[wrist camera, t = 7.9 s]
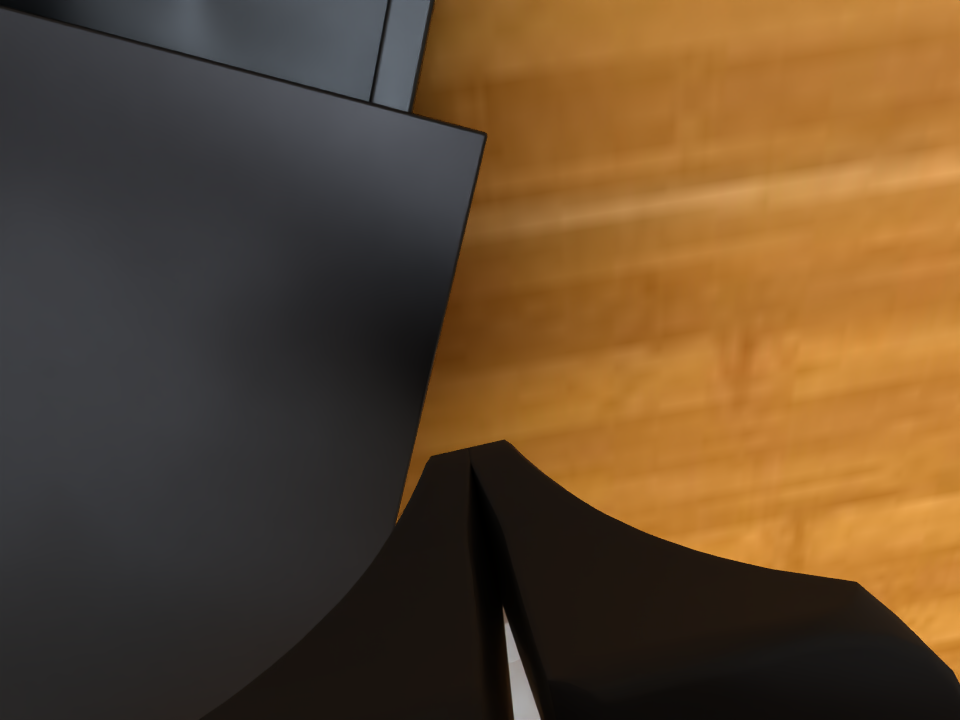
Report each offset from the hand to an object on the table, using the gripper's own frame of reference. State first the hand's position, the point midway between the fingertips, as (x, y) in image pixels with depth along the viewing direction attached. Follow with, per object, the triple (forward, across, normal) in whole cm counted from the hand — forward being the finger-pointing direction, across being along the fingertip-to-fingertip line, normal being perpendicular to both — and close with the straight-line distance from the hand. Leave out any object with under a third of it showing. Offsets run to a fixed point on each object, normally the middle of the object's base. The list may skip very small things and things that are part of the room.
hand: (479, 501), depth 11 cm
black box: (+9, +8, -1) cm, 12 cm away
